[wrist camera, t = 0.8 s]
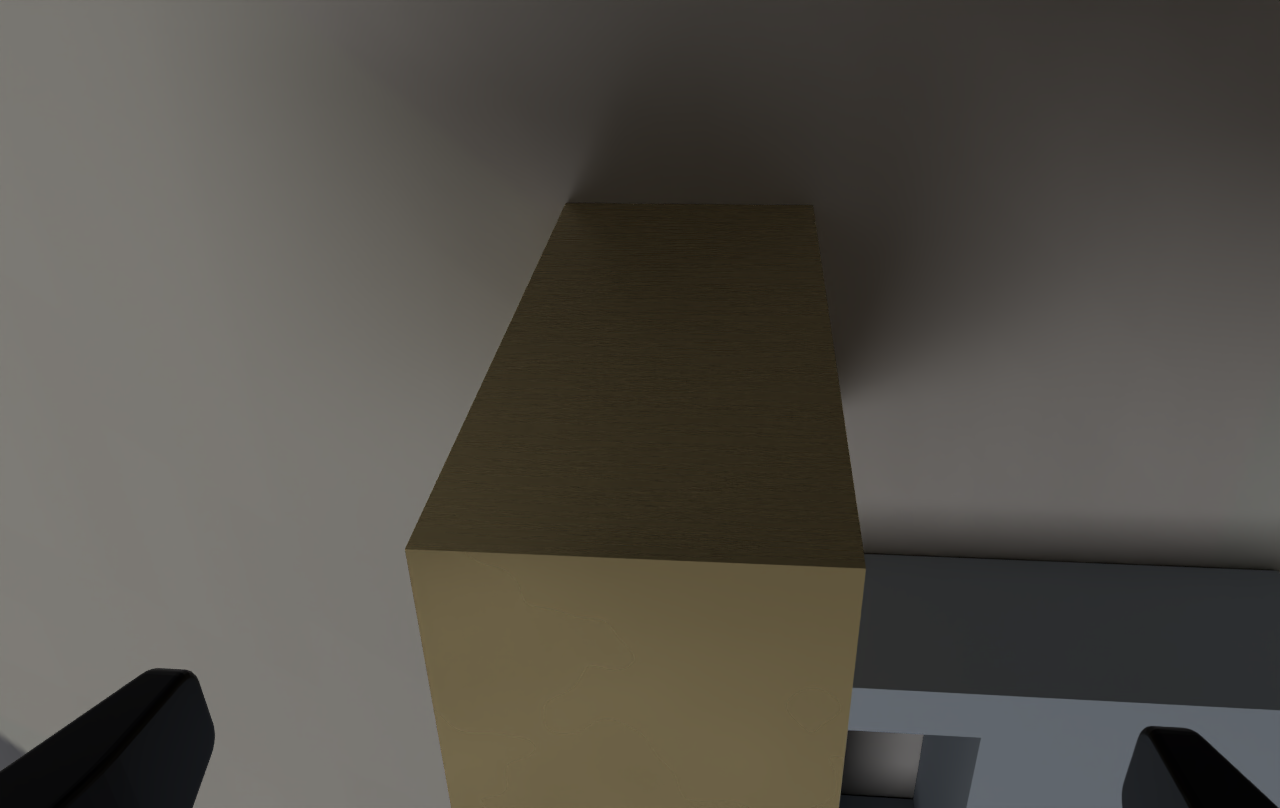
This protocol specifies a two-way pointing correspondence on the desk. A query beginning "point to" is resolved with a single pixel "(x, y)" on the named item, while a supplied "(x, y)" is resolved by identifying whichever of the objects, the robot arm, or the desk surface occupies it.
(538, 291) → the brass square bit
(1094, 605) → the slate bore board
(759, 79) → the desk surface
